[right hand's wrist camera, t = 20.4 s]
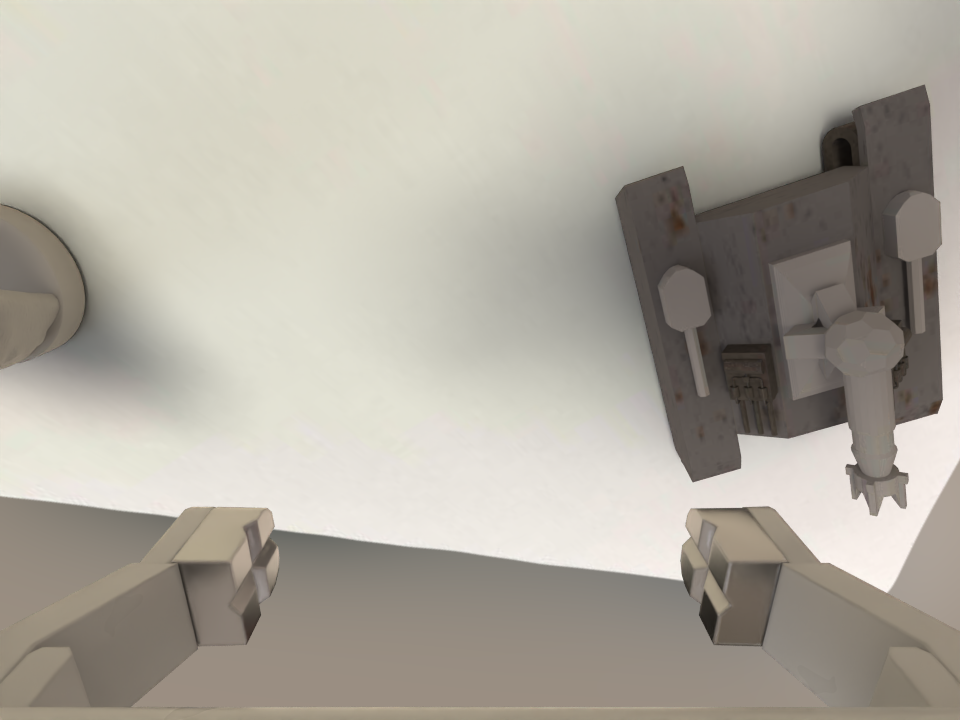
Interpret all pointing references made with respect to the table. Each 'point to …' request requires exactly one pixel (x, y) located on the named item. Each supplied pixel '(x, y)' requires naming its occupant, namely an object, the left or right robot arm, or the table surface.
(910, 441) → the table surface
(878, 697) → the right robot arm
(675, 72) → the table surface
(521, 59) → the table surface
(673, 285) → the toy
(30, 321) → the bust sculpture
